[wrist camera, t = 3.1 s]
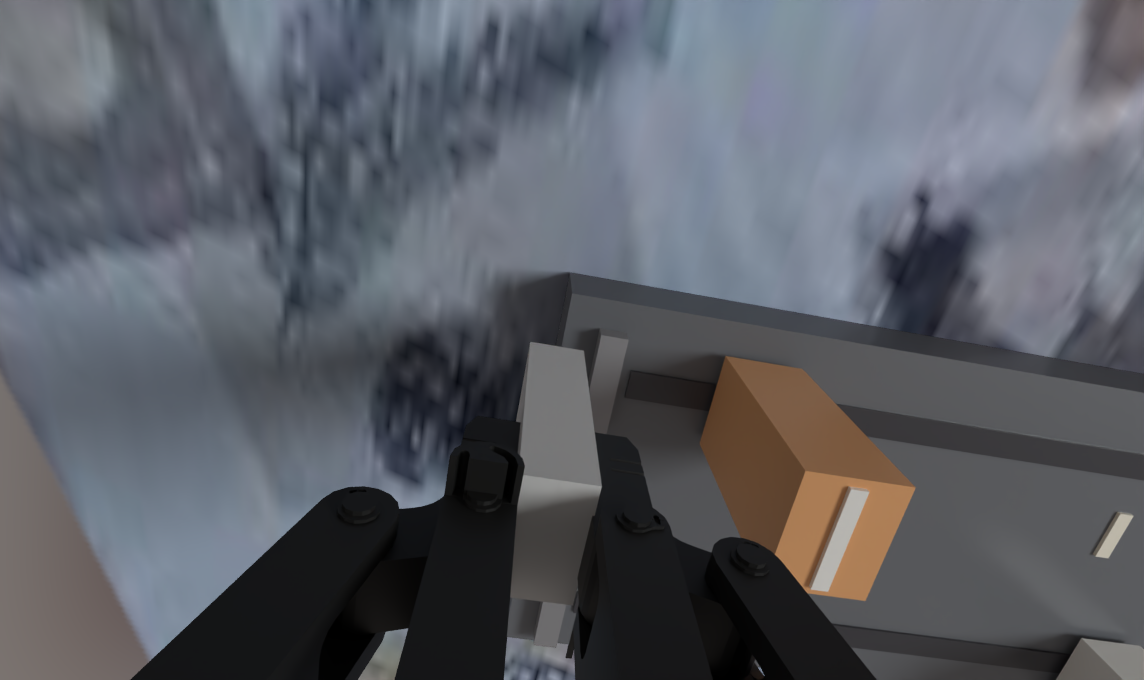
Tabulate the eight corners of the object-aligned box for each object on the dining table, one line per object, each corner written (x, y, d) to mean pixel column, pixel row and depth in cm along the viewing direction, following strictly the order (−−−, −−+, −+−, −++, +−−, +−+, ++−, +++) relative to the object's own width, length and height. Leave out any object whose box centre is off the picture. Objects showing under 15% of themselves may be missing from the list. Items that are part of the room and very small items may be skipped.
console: (569, 272, 20) (572, 299, 17) (1321, 405, 23) (1429, 447, 20) (508, 587, 25) (503, 650, 22) (1144, 669, 27) (1212, 733, 24)
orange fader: (725, 355, 18) (807, 473, 13) (802, 369, 19) (918, 490, 13) (699, 443, 19) (764, 590, 14) (772, 454, 20) (867, 604, 14)
